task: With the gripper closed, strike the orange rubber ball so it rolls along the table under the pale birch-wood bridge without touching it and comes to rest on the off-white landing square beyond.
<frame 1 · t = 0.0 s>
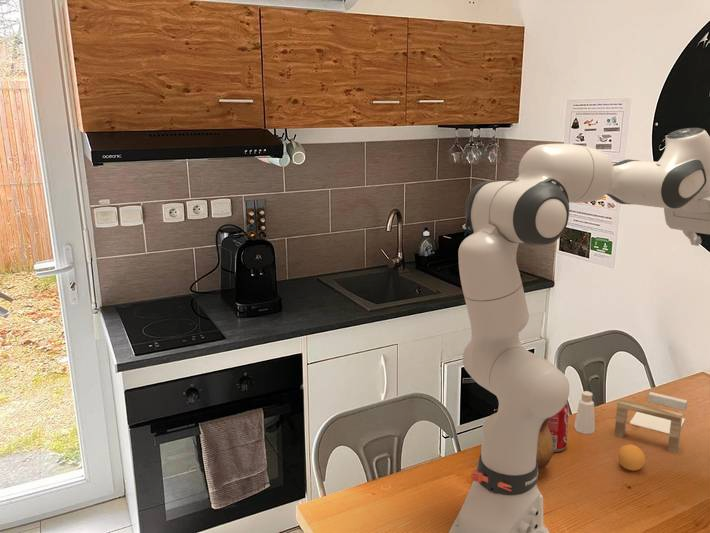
bridge: (645, 441, 155), on the table
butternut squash: (521, 469, 143), on the table
white rectangular bar: (666, 404, 176), on the table
salt shaker: (584, 430, 162), on the table
ball: (631, 457, 142), on the table
soda can: (551, 446, 154), on the table
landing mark: (657, 421, 166), on the table
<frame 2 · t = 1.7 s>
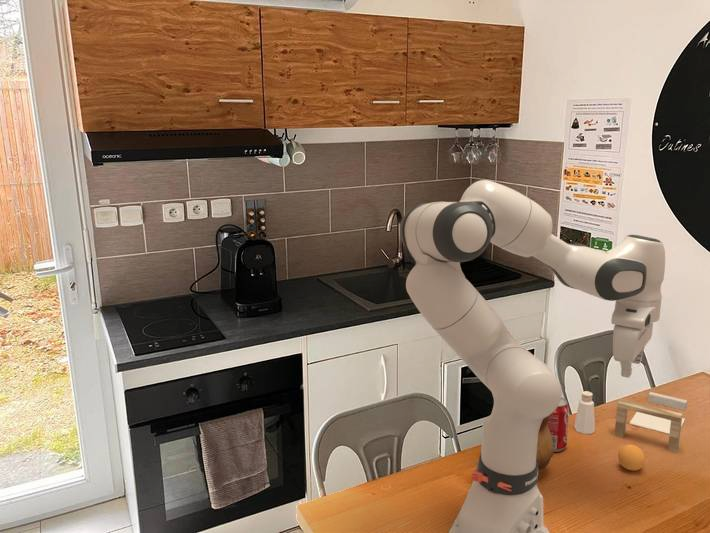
hand: (631, 369, 129), 29 cm above the table, tool pointing down, fingers open, 8 cm apart
nothing on the table moved.
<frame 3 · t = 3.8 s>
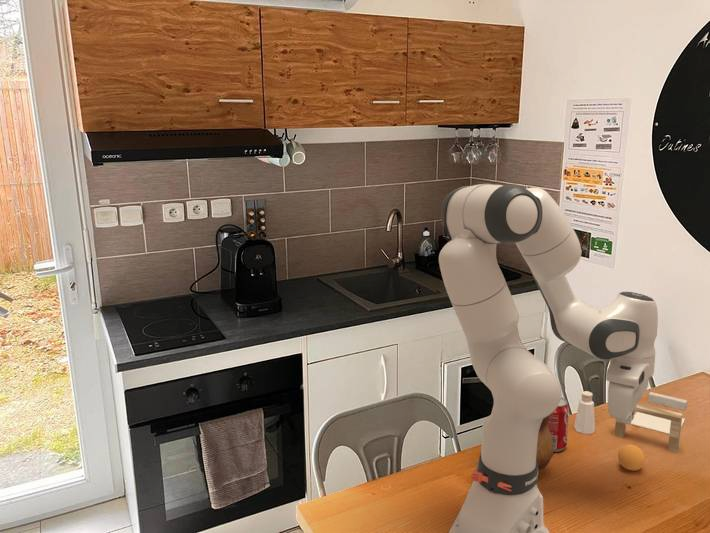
hand: (627, 421, 132), 17 cm above the table, tool pointing down, fingers closed
nothing on the table moved.
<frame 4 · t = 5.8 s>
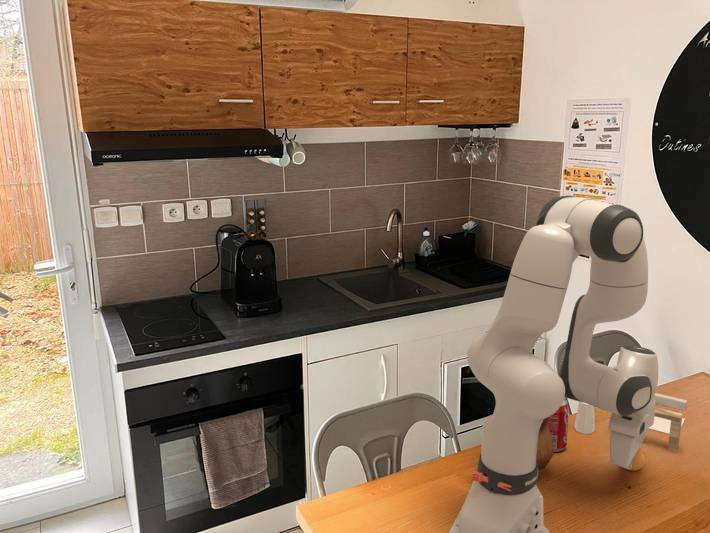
hand: (628, 466, 139), 3 cm above the table, tool pointing down, fingers closed
ball: (631, 457, 142), on the table, touching gripper
everything else where it was.
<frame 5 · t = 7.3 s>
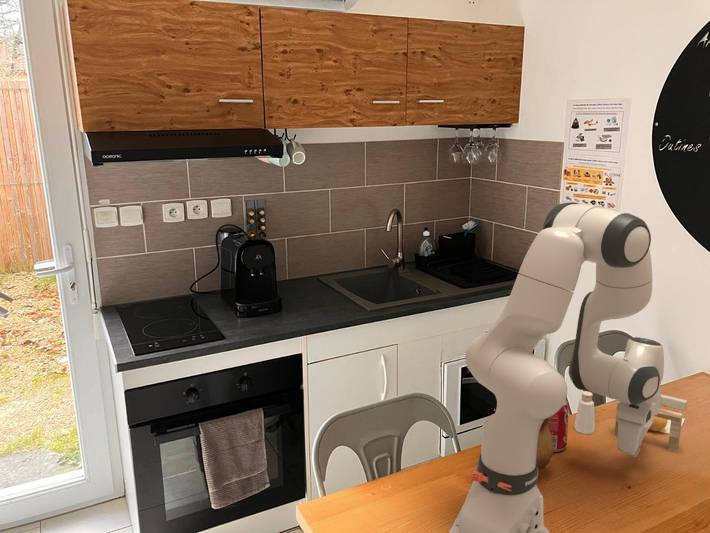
hand: (634, 453, 145), 3 cm above the table, tool pointing down, fingers closed
ball: (655, 419, 161), on the table
everything else where it was.
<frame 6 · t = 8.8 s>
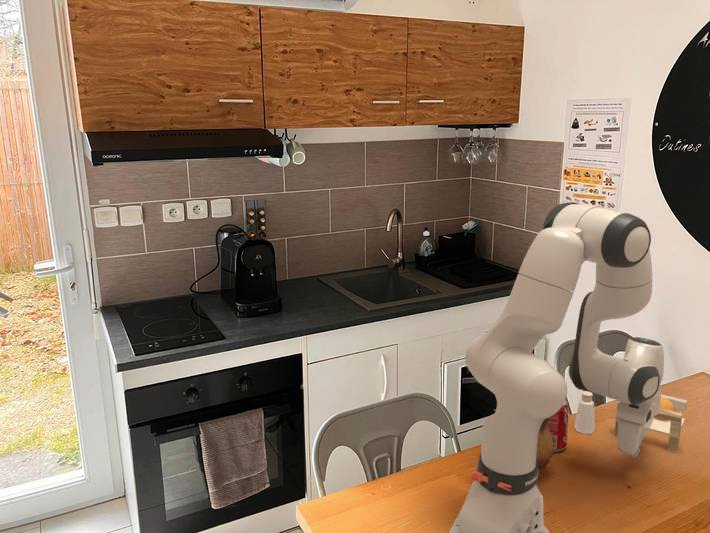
hand: (634, 453, 145), 3 cm above the table, tool pointing down, fingers closed
ball: (662, 408, 167), on the table
everything else where it was.
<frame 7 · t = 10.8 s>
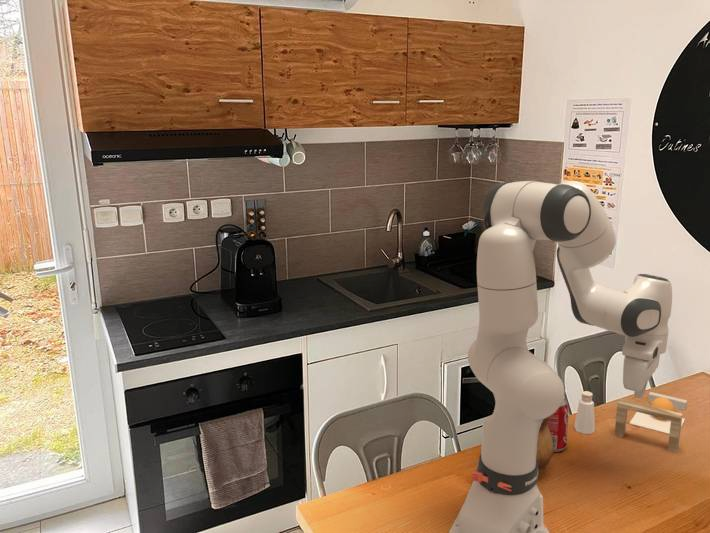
hand: (639, 395, 141), 18 cm above the table, tool pointing down, fingers closed
nothing on the table moved.
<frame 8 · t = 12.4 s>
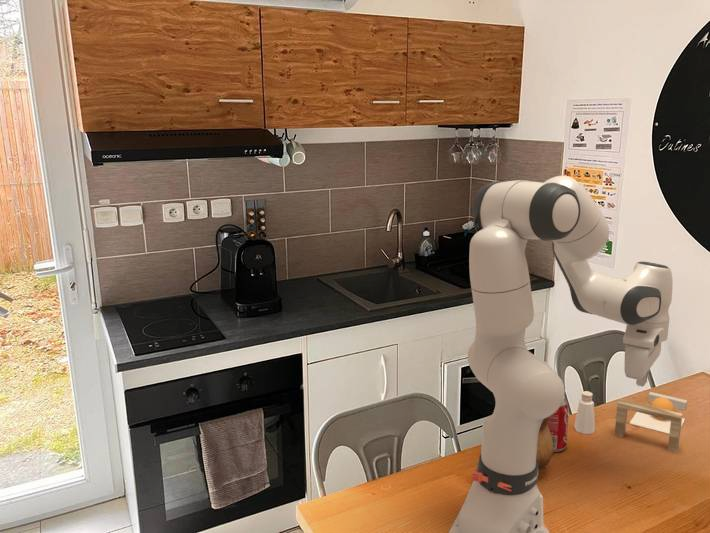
hand: (641, 384, 141), 21 cm above the table, tool pointing down, fingers closed
nothing on the table moved.
at the end: ball 3.1 cm from the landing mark (horizontally); ball never touched bridge; ball at rest at the end (0.0 cm/s) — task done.
